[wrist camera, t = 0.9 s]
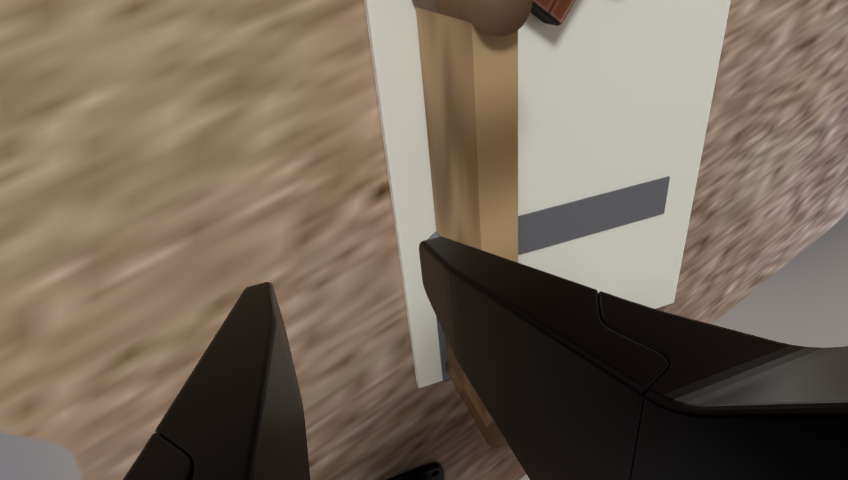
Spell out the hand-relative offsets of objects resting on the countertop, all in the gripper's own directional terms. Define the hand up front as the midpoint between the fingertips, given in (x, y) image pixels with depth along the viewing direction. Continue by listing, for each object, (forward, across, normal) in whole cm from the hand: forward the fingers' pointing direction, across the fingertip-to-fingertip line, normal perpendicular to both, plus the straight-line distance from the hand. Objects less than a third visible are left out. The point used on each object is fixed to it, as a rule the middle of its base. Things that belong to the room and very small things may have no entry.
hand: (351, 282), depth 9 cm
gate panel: (+12, -6, +1) cm, 14 cm away
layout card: (+13, -12, +6) cm, 19 cm away
